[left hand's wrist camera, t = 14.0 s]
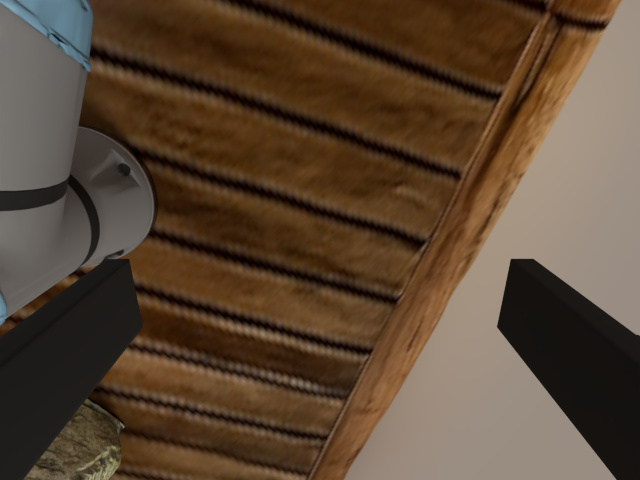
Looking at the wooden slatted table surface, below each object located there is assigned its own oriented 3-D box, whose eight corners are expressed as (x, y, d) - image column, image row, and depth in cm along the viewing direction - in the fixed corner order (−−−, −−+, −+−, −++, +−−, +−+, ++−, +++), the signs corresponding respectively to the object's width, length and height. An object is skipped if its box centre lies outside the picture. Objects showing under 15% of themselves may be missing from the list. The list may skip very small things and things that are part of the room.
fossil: (129, 450, 56) (65, 568, 42) (4, 412, 53) (-110, 524, 39) (145, 409, 53) (81, 521, 39) (12, 367, 50) (-107, 470, 36)
